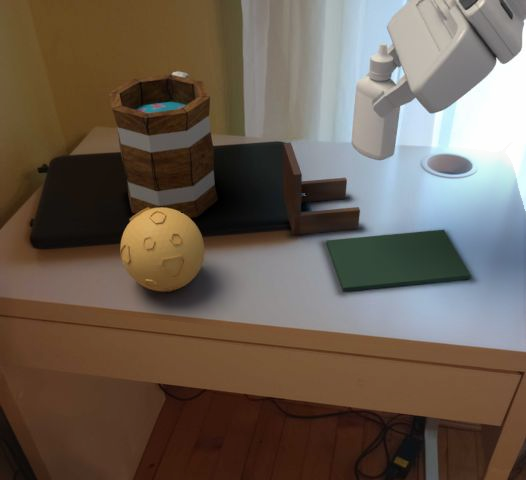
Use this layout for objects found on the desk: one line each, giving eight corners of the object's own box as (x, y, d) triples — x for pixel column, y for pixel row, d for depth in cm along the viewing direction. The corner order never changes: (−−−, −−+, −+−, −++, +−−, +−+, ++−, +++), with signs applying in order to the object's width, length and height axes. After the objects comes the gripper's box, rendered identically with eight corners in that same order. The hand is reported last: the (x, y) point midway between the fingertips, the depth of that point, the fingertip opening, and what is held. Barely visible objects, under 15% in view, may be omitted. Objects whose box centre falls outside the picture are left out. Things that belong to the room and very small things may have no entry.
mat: (443, 233, 85) (444, 229, 84) (470, 279, 78) (471, 275, 77) (326, 243, 84) (326, 240, 83) (342, 291, 76) (342, 287, 76)
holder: (344, 195, 92) (349, 137, 86) (358, 229, 86) (364, 168, 79) (283, 201, 91) (283, 142, 85) (292, 235, 85) (294, 174, 79)
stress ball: (152, 252, 83) (141, 183, 76) (220, 268, 80) (215, 199, 73) (112, 297, 76) (95, 227, 69) (184, 317, 74) (174, 246, 67)
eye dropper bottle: (358, 163, 72) (368, 55, 64) (349, 141, 76) (357, 36, 68) (396, 161, 73) (411, 52, 64) (384, 138, 77) (397, 33, 68)
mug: (208, 225, 87) (198, 120, 77) (114, 219, 89) (91, 115, 78) (233, 156, 101) (227, 59, 90) (151, 152, 102) (136, 56, 92)
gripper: (441, -53, 69) (345, 43, 76) (487, 7, 54) (363, 119, 61) (474, -8, 72) (379, 80, 79) (525, 59, 57) (403, 160, 65)
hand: (372, 98), depth 70 cm, fingers closed on eye dropper bottle, 5 cm apart
